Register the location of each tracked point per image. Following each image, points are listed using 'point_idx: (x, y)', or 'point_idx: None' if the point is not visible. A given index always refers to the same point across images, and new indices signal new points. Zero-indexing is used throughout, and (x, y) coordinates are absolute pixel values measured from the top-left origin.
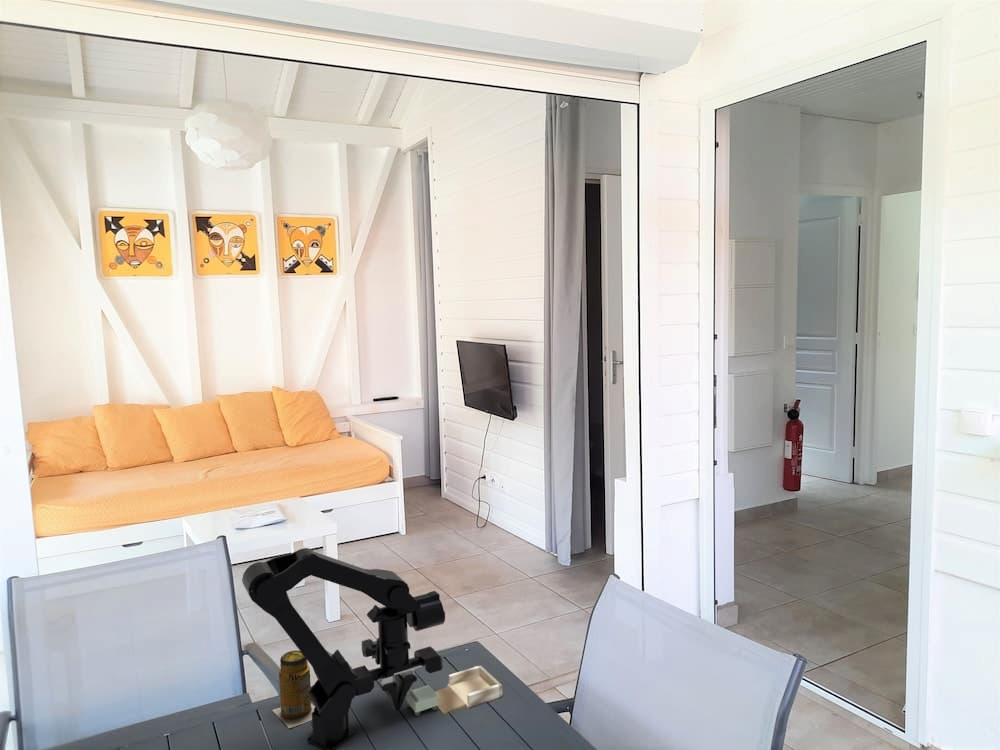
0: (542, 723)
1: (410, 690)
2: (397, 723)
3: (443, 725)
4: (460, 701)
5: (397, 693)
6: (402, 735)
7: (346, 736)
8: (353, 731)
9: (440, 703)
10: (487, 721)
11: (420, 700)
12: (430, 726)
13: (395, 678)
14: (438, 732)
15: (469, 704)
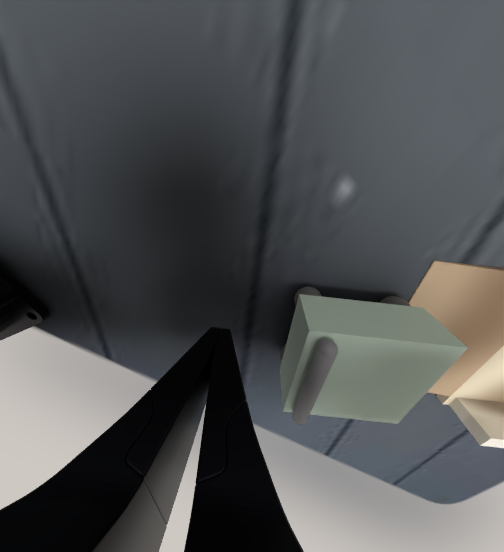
0: (469, 481)
1: (326, 366)
2: None
3: None
4: (455, 380)
5: (168, 514)
6: None
7: (15, 327)
8: (40, 317)
9: None
10: (408, 440)
11: (314, 410)
12: None
13: (187, 550)
14: (288, 415)
15: (451, 406)
